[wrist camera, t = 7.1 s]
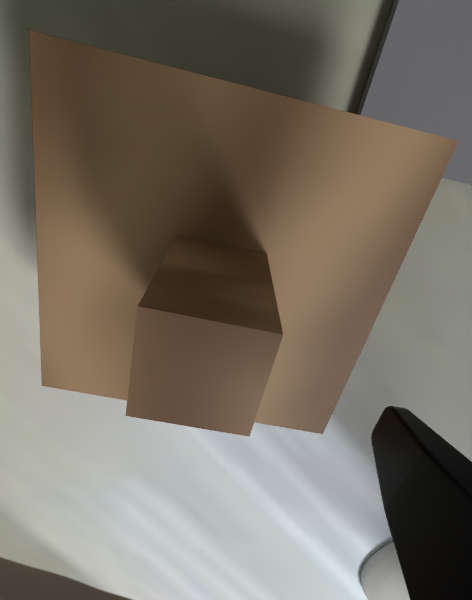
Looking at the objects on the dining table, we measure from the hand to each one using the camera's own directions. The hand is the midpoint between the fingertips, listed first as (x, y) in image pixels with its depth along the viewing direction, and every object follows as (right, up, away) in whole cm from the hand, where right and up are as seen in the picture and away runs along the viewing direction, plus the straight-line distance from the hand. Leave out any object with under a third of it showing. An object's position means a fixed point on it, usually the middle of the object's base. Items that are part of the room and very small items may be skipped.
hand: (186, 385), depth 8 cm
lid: (0, +3, +6) cm, 6 cm away
